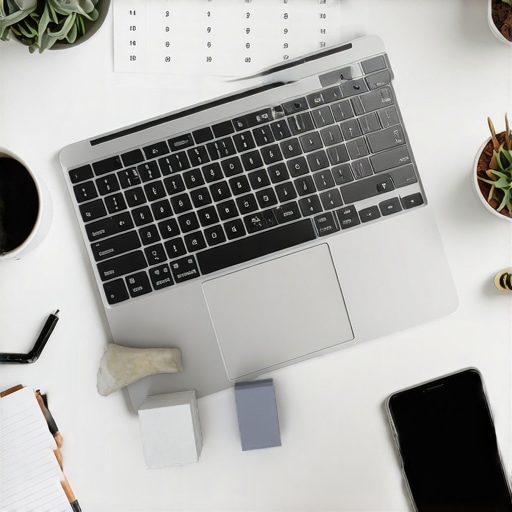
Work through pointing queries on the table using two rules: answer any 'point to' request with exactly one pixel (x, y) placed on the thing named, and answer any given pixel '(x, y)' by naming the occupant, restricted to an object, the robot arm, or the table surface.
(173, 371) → the stone
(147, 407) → the white book
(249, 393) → the grey-blue block
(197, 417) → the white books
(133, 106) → the table surface
